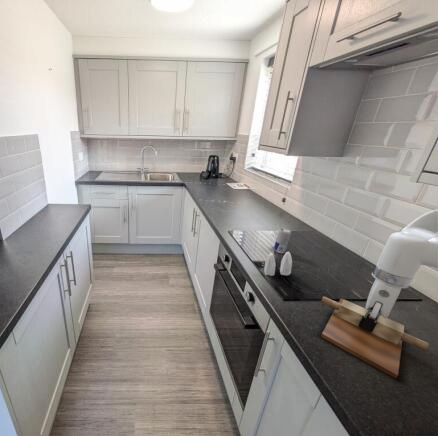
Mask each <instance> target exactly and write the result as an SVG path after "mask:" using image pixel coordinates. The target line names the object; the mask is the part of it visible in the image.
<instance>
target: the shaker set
mask: <svg viewBox="0 0 438 436" xmlns="http://www.w3.org/2000/svg"><path fill="white" fill-rule="evenodd" d="M279 267H280V268H279V273H280V274H279V275H281V276H285V277H287V276H290V275H291V273H292V268H293V259H292V254H291V252H290V251H286V252H285V253H284V255H283V256H282V258H281V261H280V266H279ZM263 273H264V276H270V277H272V276H275V275H276V274H275V273H276V259H275V255H274V254H273V253H269V254H268V256H267V257H266V259H265V262H264V268H263Z"/></svg>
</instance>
